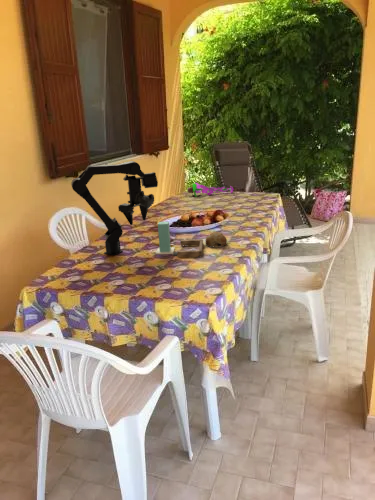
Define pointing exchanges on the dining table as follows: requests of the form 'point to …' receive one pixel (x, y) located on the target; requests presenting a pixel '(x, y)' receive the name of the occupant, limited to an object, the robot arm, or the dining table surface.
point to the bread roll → (216, 239)
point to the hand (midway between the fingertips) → (138, 222)
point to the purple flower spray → (206, 189)
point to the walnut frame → (191, 253)
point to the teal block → (164, 236)
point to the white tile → (165, 252)
